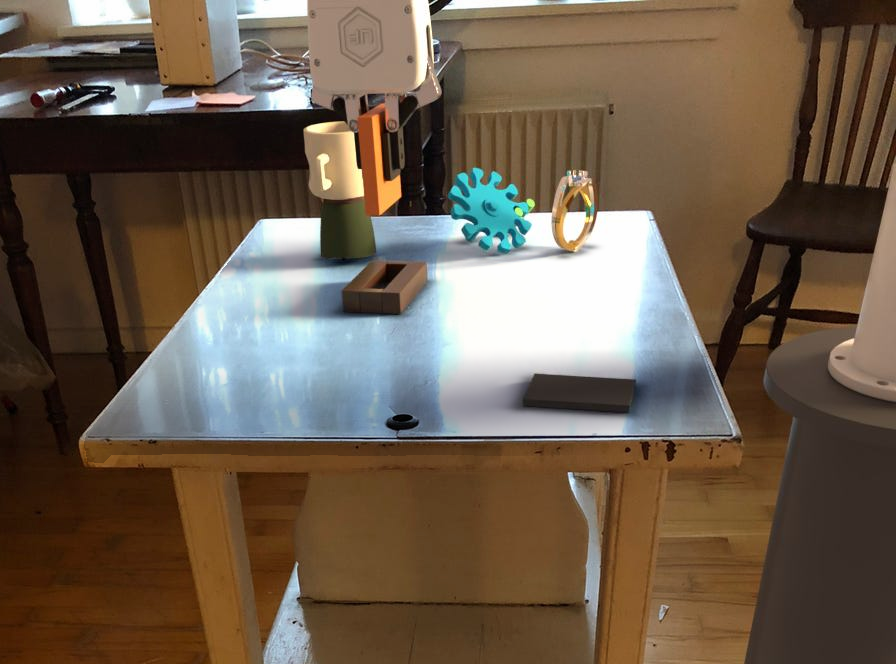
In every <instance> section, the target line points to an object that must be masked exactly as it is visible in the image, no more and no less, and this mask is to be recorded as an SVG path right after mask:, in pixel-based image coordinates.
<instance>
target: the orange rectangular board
mask: <svg viewBox="0 0 896 664" xmlns="http://www.w3.org/2000/svg"><path fill="white" fill-rule="evenodd" d="M357 119H358V130H359V142H360V154H361V166H362V178H363V189H364V201H365V213H366V215H371V216H375V217H376V216H381V215H382V214H384V213H385V212H386V211H387V210H388V209H389V208H390V207H391V206H393V205H394V204H395V203H396V202H397V201H398V200H399V199H401V198H402V188H401V187H402V185H401V174H400V175H399V176H398V177H397V178H395V179H394V180H393V181H386V180H385V179H384V169H383V155H382V141H381V135H382V133H383V132H384V131H385V128H384V124H385V123H386V122H385V103H380V104H378V105H376V106H375V107H373V108H372V109H369V111H368V112H366V113H365V114H363V115H361V116H359V117H358V118H357Z"/></svg>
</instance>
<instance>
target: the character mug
mask: <svg viewBox="0 0 896 664" xmlns="http://www.w3.org/2000/svg"><path fill="white" fill-rule="evenodd" d="M303 140H304V153H305V156H306V159H307V162H308V165H309V167H308V168H309V176H308V177H309V178H308V188H309V190H310V192H311V194H312V195H313V196H315V197H318V198H320V200H321V202H322V204H321V208H320V227H319V229H320V232H319V249H320V250H319V253H320V257H321V258H323V259H325V260H331V259H340V261H341V263H345V262H347V259H360V258H368V257H372V256H374V255H375V254H376V253H377V252H378V251H377V243H376V237H375V231H374V225H373V220H372V217H371V215H366V213H365V201H364V189H363V180H362V170H361V169H358V168H357V163H356V151H355V140H354V133H353V132H351V131H350V130H349V128H348V125H347V124H346V123H345V122H344V120H342V121H329V122H322V123H316V124H311V125H308V126H306V127H304V128H303Z"/></svg>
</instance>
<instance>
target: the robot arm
mask: <svg viewBox="0 0 896 664" xmlns="http://www.w3.org/2000/svg"><path fill="white" fill-rule="evenodd" d="M306 3H307V6H306V7H307V9H306V10H307V11H306V13H307V14H306V15H307V16H306V17H307V43H308V44H307V45H308V60H309V69H310V71H309V72H310V79H311V82H312V88H311V94H310V99H311V101H312V103H313V104H315V105H318V106H321V107H323V108H325V109H328V110H332V111H334V112H335V113H336V114H337V116H338V117H339V118H341V120H342V121H344V122H345V123H346V124H347V125H348V128H349V130H350V131H351V132H353V133H354V140H355V151H356V163H357V168H358V169H361V170H362V166H361V154H360V142H359V130H358V119H357V118H358V117H359V116H361V115H363V114H365V113H366V112H368V111H370V106H369V100H368V99H369V98H368V95H372V94H373V95H374V94H376V95H377V94H384V104H385V122H386V123H385V124H384V128H385V131H384V132H383V133H382V135H381V141H382V155H383V169H384V179H385V180H386V181H393V180H394V179H395V178H397V177H398V176H399V175H400V176H401V171H402V170H403V169H404V168H405V164H406V163H405V161H406V160H405V145H404V143H405V141H404V126H406V125H407V122H408V121H409V120H410V119H411V118H412V116H413V115H414V113H415V112H416V111H417V109H420V108H422V107H425V106H427V105H429V104H430V103H433V102H435V101H436V100H438V99H440V98H441V96H442V93H443V92H442V87H441V85H440V82H439V79H438V77H437V73H436V71H435V68H434V65H435V63H434V61H435V60H434V58H435V57H434V40H433V32H432V31H433V30H432V23H431V22H432V21H431V13H430V6H429V0H307V1H306ZM418 87H420V88H419V89H418V90H417V91H414V90H416V89H417V88H418ZM411 91H414V92H413V93H410V94H409V95H407V94H408V92H411ZM362 180H363V178H362ZM878 228H879V229H878V232H877V237H876V242H875V246H874V251H873V254H872V260H871V264H870V268H869V271H868V272H869V273H868V278H867V282H866V285H865V290H864V293H863V299H862V303H861V306H860V307H861V308H860V313H859V315H858V316H859V317H858V321H857V325H856V326H857V329H856V334H855V338H854V339H851V340H848V341H845V342H843V343H841V344H839V345H838V346H836V347H835V348H834V349H833V350H832V351H831V353H830V357H829V361H828V371H829V372H830V374H831V376H832V377H833V378H834V379H835V380H836V381H837V382H839V383H840V384H842V385H843V386H845V387H847V388H849V389H851V390H853V391H855V392H858V393H860V394H863V395H866V396H869V397H873V398H877V399H881V400H885V401H890V402H896V158H895V159H894V163H893V167H892V172H891V176H890V180H889V185H888V189H887V194H886V198H885V202H884V207H883V212H882V216H881V220H880V224H879V227H878Z"/></svg>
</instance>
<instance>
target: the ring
mask: <svg viewBox="0 0 896 664" xmlns="http://www.w3.org/2000/svg"><path fill="white" fill-rule="evenodd" d="M588 174H589V171H586V170H583V169H581V170H580V169H579V170H578V175H577V169H573V172H572V174H571V170H567V171H566V175H565V176H562V177H561V178H560V181H559V183H558V186H557V188H556V192H555V195H554V200H553V205H552V212H551V220H550V221H551V223H550V224H551V233H552V236H553V239H554V242H555V244H556V245H557V246H558V247H559V248H561V249H563V250H566V251H569V252H572V253H577V252H579V250H580V249H581V248H582V247H583V246H584V245H585V244H586V243H587V241H588V240H589V238H591V237H590V236H591V235H592V232H593V230H594V228H595V225H596V221H597V217H598V212H599V211H598V210H599V195H598V187H597V183H596V181H595V179H594V178H592V177H591V178H590V177H588ZM567 186H568V187H573V188H572V189H570V190H569V192H568V193H567V195H566V196H565V191H566V189H567ZM579 193H580V194H581V196H582V198H583V201H584V206H585V219H584V225H583V228H582V230H581V232H580V234H579V235H578V237H577V238H576V239H575V240H573V239H570V240H569V241H567V240H566V238H565V235H564V224H565V223H564V222H565V218H566V215H567V213H568V211H569V209H570V206H571V204H572V202H573V201H574V200H575V198H576V197H577V195H578V194H579ZM564 196H565V197H564Z"/></svg>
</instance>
